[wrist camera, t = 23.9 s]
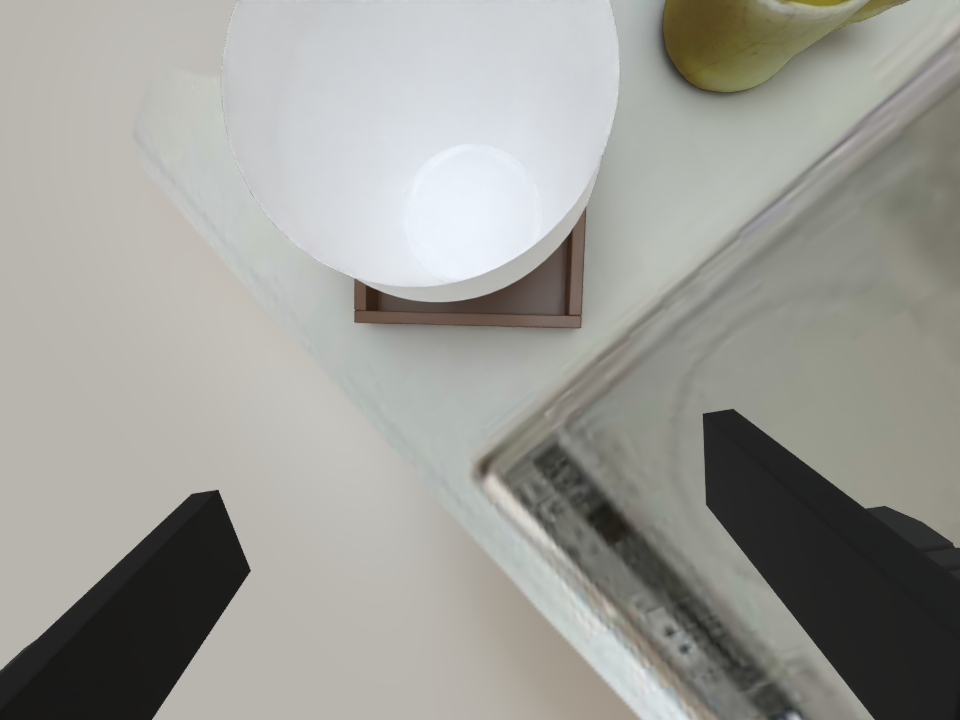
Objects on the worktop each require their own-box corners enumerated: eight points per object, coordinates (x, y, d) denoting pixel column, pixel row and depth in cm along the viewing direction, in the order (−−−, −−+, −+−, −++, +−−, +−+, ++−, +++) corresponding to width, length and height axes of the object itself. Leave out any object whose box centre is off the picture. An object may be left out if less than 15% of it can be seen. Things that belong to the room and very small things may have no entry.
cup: (346, 251, 32) (146, 165, 15) (439, 82, 30) (337, -229, 13) (503, 346, 31) (483, 372, 14) (604, 180, 30) (718, -12, 13)
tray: (370, 112, 31) (354, 88, 28) (584, 109, 30) (591, 84, 27) (369, 322, 32) (353, 322, 29) (575, 328, 31) (581, 328, 28)
